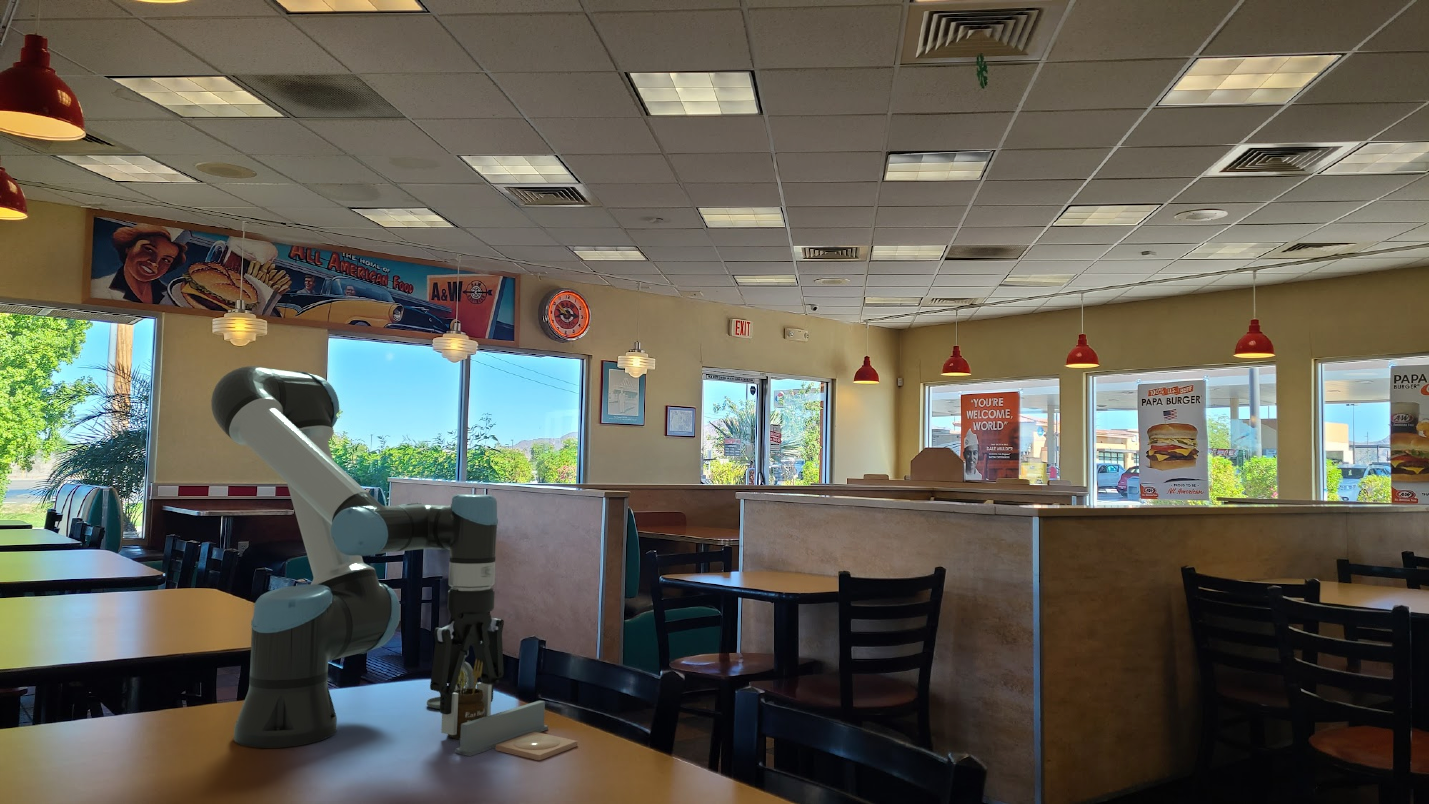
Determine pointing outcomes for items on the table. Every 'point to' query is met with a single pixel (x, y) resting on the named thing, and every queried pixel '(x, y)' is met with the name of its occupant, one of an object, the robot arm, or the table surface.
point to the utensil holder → (469, 702)
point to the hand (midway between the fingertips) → (466, 727)
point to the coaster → (536, 745)
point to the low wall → (501, 728)
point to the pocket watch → (465, 666)
